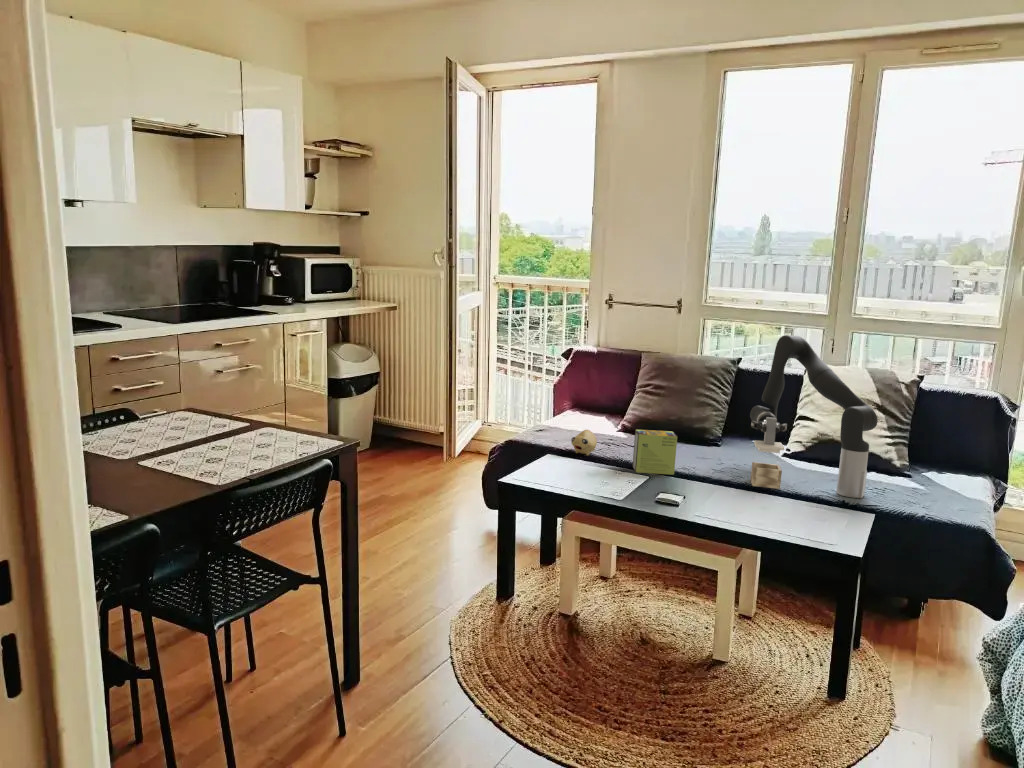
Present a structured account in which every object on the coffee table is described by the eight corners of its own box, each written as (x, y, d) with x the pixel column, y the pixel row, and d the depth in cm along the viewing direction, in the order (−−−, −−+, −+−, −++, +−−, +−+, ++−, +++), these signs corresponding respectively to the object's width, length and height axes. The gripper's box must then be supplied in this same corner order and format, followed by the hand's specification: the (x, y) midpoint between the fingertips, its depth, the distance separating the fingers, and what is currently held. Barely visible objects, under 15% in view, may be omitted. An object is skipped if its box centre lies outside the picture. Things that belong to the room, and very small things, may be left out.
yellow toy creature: (566, 454, 327) (567, 430, 326) (579, 450, 337) (581, 426, 336) (586, 458, 322) (588, 433, 320) (599, 454, 332) (601, 429, 330)
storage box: (777, 482, 299) (779, 464, 298) (780, 488, 289) (781, 470, 288) (750, 479, 301) (752, 462, 300) (752, 485, 291) (754, 467, 290)
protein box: (674, 475, 302) (678, 436, 300) (635, 472, 302) (638, 434, 300) (669, 468, 312) (672, 431, 310) (631, 466, 312) (634, 428, 310)
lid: (780, 448, 297) (783, 417, 295) (783, 454, 287) (786, 421, 285) (753, 446, 299) (756, 414, 297) (755, 451, 289) (758, 418, 288)
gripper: (749, 411, 307) (752, 418, 290) (786, 414, 304) (792, 421, 287) (747, 429, 308) (750, 437, 291) (784, 433, 305) (790, 441, 288)
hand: (771, 429), depth 289 cm, fingers closed on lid, 3 cm apart
